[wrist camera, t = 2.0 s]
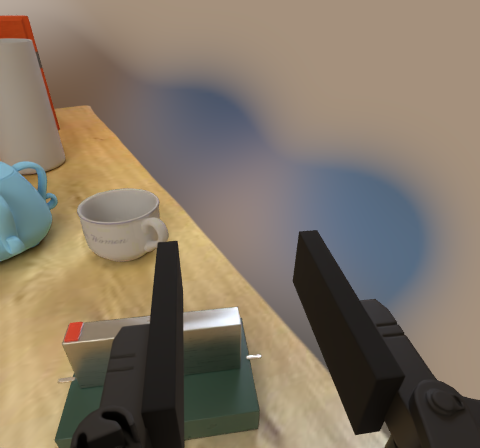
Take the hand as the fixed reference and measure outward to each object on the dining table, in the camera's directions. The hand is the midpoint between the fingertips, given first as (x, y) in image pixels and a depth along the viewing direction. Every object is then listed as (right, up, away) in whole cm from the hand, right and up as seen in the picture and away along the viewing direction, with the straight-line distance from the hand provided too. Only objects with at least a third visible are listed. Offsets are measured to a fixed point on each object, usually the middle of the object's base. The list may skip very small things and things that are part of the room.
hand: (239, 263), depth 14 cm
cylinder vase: (-47, +15, +63) cm, 80 cm away
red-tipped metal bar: (-7, -12, +17) cm, 22 cm away
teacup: (-16, -3, +36) cm, 40 cm away
